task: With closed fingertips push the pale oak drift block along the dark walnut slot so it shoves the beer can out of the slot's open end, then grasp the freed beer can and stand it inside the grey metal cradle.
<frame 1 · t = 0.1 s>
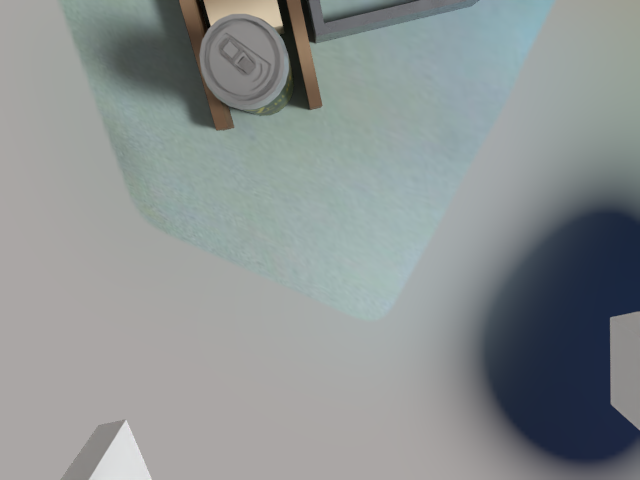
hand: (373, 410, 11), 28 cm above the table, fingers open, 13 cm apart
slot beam: (248, 21, 33), on the table
beer can: (263, 84, 34), on the table
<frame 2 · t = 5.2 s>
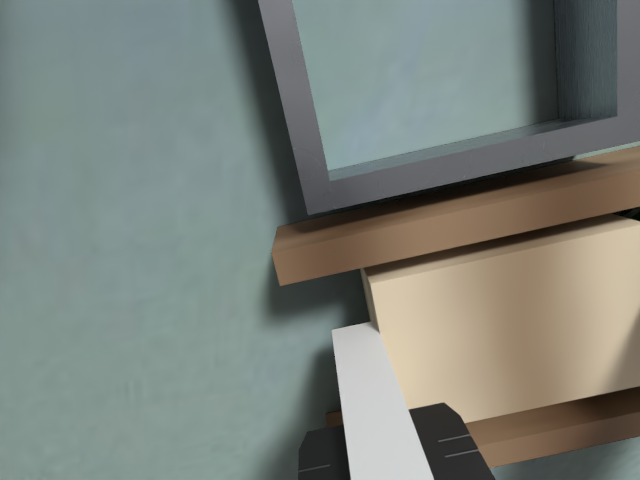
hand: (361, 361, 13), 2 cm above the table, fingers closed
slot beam: (513, 293, 15), on the table
drift block: (473, 296, 15), on the table, touching beer can, gripper
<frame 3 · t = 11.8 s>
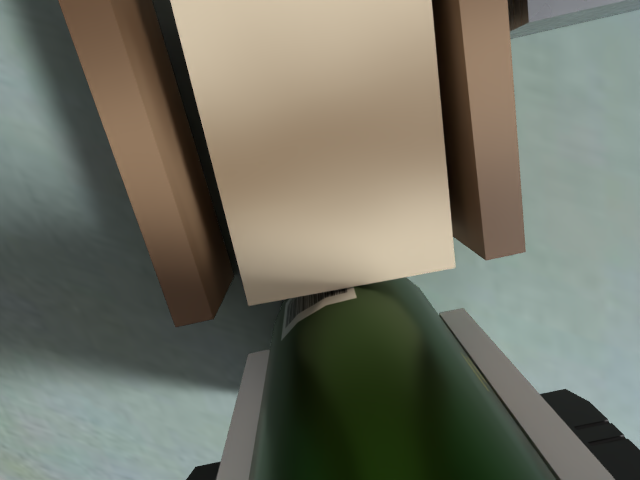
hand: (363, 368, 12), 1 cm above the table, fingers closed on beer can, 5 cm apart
drift block: (319, 130, 12), on the table
beer can: (351, 325, 14), on the table, touching gripper
when the fingers open (3 cm above the table, at t = 17.6 s): beer can drops 1 cm, on the table.
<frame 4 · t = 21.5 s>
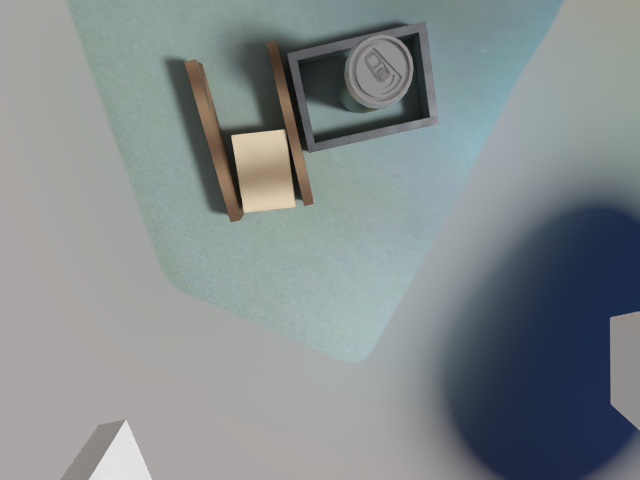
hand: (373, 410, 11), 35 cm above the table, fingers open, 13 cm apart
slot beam: (255, 136, 42), on the table
cradle: (361, 91, 41), on the table
drift block: (266, 169, 43), on the table
beer can: (360, 87, 41), on the table
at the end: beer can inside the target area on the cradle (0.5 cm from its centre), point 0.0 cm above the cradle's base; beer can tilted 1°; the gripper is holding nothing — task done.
